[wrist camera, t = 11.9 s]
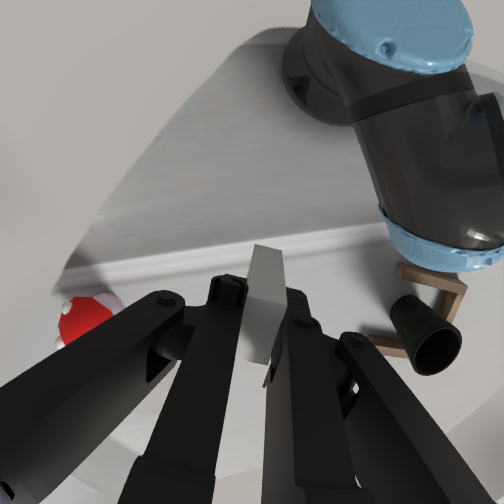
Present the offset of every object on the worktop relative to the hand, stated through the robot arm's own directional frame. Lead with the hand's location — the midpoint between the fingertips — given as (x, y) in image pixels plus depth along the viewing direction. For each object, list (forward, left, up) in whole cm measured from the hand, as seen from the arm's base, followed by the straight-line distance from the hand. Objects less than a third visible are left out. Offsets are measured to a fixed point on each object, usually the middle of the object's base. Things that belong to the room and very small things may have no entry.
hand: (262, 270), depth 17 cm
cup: (+10, +25, -25) cm, 37 cm away
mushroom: (+22, -21, -25) cm, 39 cm away
